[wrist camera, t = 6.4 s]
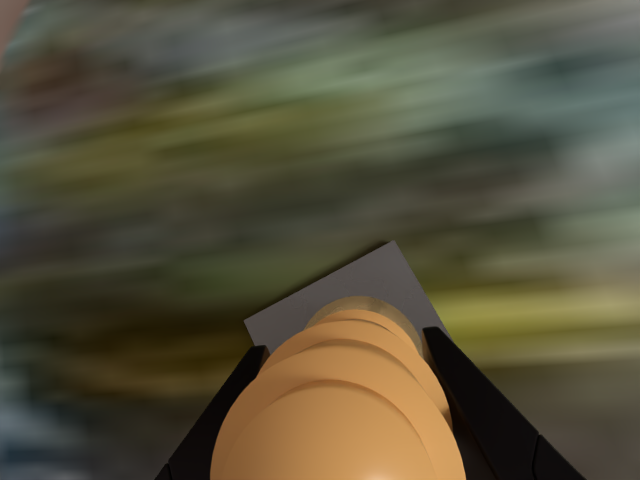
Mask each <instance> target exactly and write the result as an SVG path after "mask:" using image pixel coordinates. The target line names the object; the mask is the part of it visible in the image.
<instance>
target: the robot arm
mask: <svg viewBox="0 0 640 480" xmlns="http://www.w3.org/2000/svg"><path fill="white" fill-rule="evenodd" d="M422 352H423V358H424V361H425V362H426V363H427V364H428V366H429V367H430V369H431V370H432V372H433V373H434V375H435V376H436V378H437V379H438V381H439V383H440V385H441V387H442V389H443V391H444V394H445V397H446V400H447V403H448V405H449V410H450V414H451V419H452V427H453V436H454V438H455V441H456V443H457V446H458V449H459V452H460V455H461V458H462V462H463V467H464V471H465V475H466V480H587V479H586V478H585V477H583V476H582V475H581V474H580V473H579V472H578V471H577V470H576V469H575V468H574V467H573V466H572V465H571V464H570V463H569V462H568V461H567V460H566V459H565V458H564V457H563V456H562V455H561V454H560V453H559V452H558V451H557V450H556V449H555V448H554V447H553V446H552V445H551V444H550V443H549V442H548V441H547V440H546V439H545V438H544V436H543V435H541V434H540V435H539V432H538V430H537V429H536V428H535V427H534V426H533V425H532V424H531V423H530V422H529V421H528V420H527V419H526V418H525V417H524V416H523V415H522V414H521V413H520V412H519V411H518V409H517V408H516V407H515V406H514V405H513V404H512V403H511V402H510V401H509V400H508V399H507V398H506V397H505V396H504V395H503V394H502V393H501V392H500V391H499V390H498V389H497V388H496V386H495V385H494V384H493V383H492V382H491V381H490V380H489V379H488V378H487V377H486V376H485V375H484V374H483V373H482V372H481V371H480V370H479V369H478V368H477V367H476V366H475V364H474V363H473V362H472V361H471V360H470V359H469V358H468V357H467V356H466V355H465V354H464V353H463V352H462V351H461V350H460V349H459V348H458V347H457V346H456V345H455V344H454V343H453V341H452V340H451V339H450V338H449V337H448V336H447V335H446V334H445V333H444V332H443V331H442V330H441V329H440V328H439V327H437V326H433V327H424V328H423V329H422ZM270 356H271V355H270V353H269V350H268V348H267V346H266V345H259V346H252V347H251V348H250V349H249V350H248V351H247V353H246V354H245V356H244V357H243V358H242V360H241V361H240V362H239V364H238V365H237V367H236V368H235V369H234V371H233V372H232V374H231V375H230V376H229V378H228V379H227V380H226V382H225V383H224V385H223V386H222V387H221V389H220V390H219V391H218V393H217V394H216V396H215V397H214V398H213V400H212V401H211V402H210V404H209V405H208V407H207V408H206V409H205V411H204V412H203V413H202V415H201V416H200V418H199V419H198V420H197V422H196V423H195V425H194V426H193V427H192V429H191V430H190V431H189V433H188V434H187V436H186V437H185V438H184V440H183V441H182V442H181V444H180V445H179V447H178V448H177V449H176V451H175V452H174V453H173V455H172V456H171V458H170V459H169V460H168V463H169V464H168V463H167V464H165V466H164V467H163V468H162V470H161V471H160V473H159V474H158V475H157V477H156V478H155V479H154V480H210V471H211V463H212V456H213V451H214V448H215V444H216V440H217V437H218V434H219V431H220V429H221V426H222V424H223V421H224V419H225V418H226V416H227V414H228V412H229V410H230V408H231V407H232V405H233V404H234V402H235V401H236V399H237V398H238V397H239V395H240V394H241V393H242V392H243V391H244V389H245V388H246V387H247V386H248V385H249V384H250V383H251V382H252V381H253V380H254V379H256V377H257V375H258V373H259V371H260V369H261V368H262V366H263V365H264V364H265V362H266V361H267V359H268V358H269V357H270ZM538 435H539V436H538Z"/></svg>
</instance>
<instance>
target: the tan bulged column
mask: <svg viewBox="0 0 640 480" xmlns="http://www.w3.org/2000/svg"><path fill="white" fill-rule="evenodd" d="M210 480H466V475H465V471H464V467H463V462H462V458H461V455H460V452H459V449H458V446H457V443H456V441H455V438H454V436H453V427H452V419H451V414H450V410H449V405H448V403H447V400H446V397H445V394H444V391H443V389H442V387H441V385H440V383H439V381H438V379H437V378H436V376H435V375H434V373H433V372H432V370H431V369H430V367H429V366H428V364H427V363H426V362H425V361H424V360H423V359H422V357H421V356H420V355H419V353H418V351H417V349H416V347H415V345H414V343H413V342H412V340H411V339H410V337H409V336H408V335H407V334H406V333H405V331H404V330H403V329H402V328H401V327H399V326H398V325H397V324H396V323H395V322H393V321H392V320H390V319H389V318H387V317H385V316H383V315H381V314H378V313H375V312H372V311H367V310H359V309H352V310H344V311H339V312H336V313H333V314H331V315H329V316H326V317H325V318H323V319H322V320H320V321H318V322H317V323H316V324H315V325H314V326H313V327H310V328H308V329H306V330H304V331H301V332H299V333H297V334H296V335H294V336H293V337H291V338H290V339H288V340H287V341H285V342H284V343H283V344H282V345H281V346H279V347H278V348H277V349H276V350H275V351H274V352H273V354H272V355H271V356H270V357H269V358H268V359H267V361H266V362H265V364H264V365H263V366H262V368H261V369H260V371H259V373H258V375H257V377H256V379H254V380H253V381H252V382H251V383H250V384H249V385H248V386H247V387H246V388H245V389H244V391H243V392H242V393H241V394H240V395H239V397H238V398H237V399H236V401H235V402H234V404H233V405H232V407H231V408H230V410H229V412H228V414H227V416H226V418H225V419H224V421H223V424H222V426H221V429H220V431H219V434H218V437H217V440H216V444H215V448H214V451H213V456H212V463H211V471H210Z"/></svg>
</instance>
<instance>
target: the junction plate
mask: <svg viewBox="0 0 640 480" xmlns="http://www.w3.org/2000/svg"><path fill="white" fill-rule="evenodd" d="M352 309H359V310H367V311H372V312H375V313H378V314H381V315H383V316H385V317H387V318H389V319H390V320H392V321H393V322H395V323H396V324H397V325H398V326H399V327H401V328H402V329H403V330H404V331H405V333H406V334H407V335H408V336H409V337H410V339H411V340H412V342H413V343H414V345H415V347H416V349H417V351H418V353H419V355H420V356H421V357H422V359H423V360H424V358H423V352H422V329H423V328H424V327H433V326H437V327H439V328H440V329H441V330H442V331H443V332H444V333H445V334H446V335H447V336H448V337H449V338H450V339H451V337H450V335H449V333H448V332H447V330H446V328H445V327H444V325H443V323H442V321H441V320H440V318H439V316H438V315H437V313H436V311H435V309H434V308H433V306H432V304H431V303H430V301H429V299H428V297H427V296H426V294H425V292H424V291H423V289H422V287H421V285H420V284H419V282H418V280H417V279H416V277H415V275H414V273H413V272H412V270H411V268H410V267H409V265H408V263H407V261H406V260H405V258H404V256H403V255H402V253H401V251H400V249H399V248H398V246H397V244H396V243H395V241H394V240H393V241H391V242H389V243H388V244H386V245H384V246H382V247H380V248H378V249H376V250H374V251H373V252H371V253H369V254H367V255H365V256H363V257H361V258H359V259H358V260H356V261H354V262H352V263H350V264H348V265H346V266H345V267H343V268H341V269H339V270H337V271H335V272H333V273H331V274H330V275H328V276H326V277H324V278H322V279H320V280H318V281H316V282H315V283H313V284H311V285H309V286H307V287H305V288H303V289H302V290H300V291H298V292H296V293H294V294H292V295H290V296H288V297H287V298H285V299H283V300H281V301H279V302H277V303H275V304H273V305H272V306H270V307H268V308H266V309H264V310H262V311H260V312H259V313H257V314H255V315H253V316H251V317H249V318H247V319H245V320H244V323H245V325H246V327H247V329H248V331H249V334H250V336H251V338H252V340H253V342H254V345H255V346H259V345H266V346H267V348H268V350H269V353H270V355H272V354H273V352H274V351H275V350H276V349H277V348H278V347H279V346H281V345H282V344H283V343H284V342H285V341H287V340H288V339H290V338H291V337H293V336H294V335H296V334H297V333H299V332H301V331H304V330H306V329H308V328H310V327H313V326H314V325H315V324H316V323H317V322H318V321H320V320H322V319H323V318H325V317H326V316H329V315H331V314H333V313H336V312H339V311H344V310H352ZM451 340H452V339H451ZM452 341H453V340H452ZM453 343H454V342H453Z"/></svg>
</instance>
